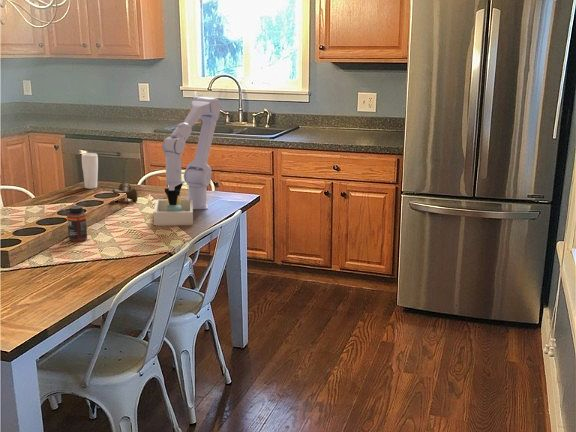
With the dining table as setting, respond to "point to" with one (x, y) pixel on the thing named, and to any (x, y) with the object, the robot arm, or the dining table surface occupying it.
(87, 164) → the drinking glass
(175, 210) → the teal cube
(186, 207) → the grey tote
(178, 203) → the mustard cylinder
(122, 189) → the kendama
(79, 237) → the supplement bottle
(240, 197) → the dining table surface
